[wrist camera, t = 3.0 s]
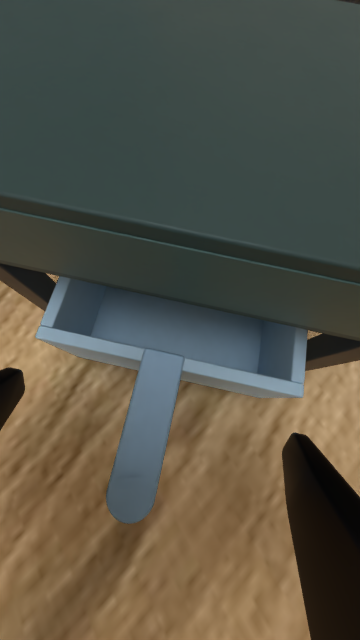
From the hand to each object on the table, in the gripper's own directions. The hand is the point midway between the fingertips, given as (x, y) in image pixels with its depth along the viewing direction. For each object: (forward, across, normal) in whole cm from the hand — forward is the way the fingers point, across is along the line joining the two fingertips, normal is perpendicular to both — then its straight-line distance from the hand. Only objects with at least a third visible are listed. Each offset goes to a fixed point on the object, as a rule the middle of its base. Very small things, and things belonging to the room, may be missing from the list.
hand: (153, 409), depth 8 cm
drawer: (+9, 0, +2) cm, 9 cm away
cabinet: (+12, 0, 0) cm, 12 cm away
